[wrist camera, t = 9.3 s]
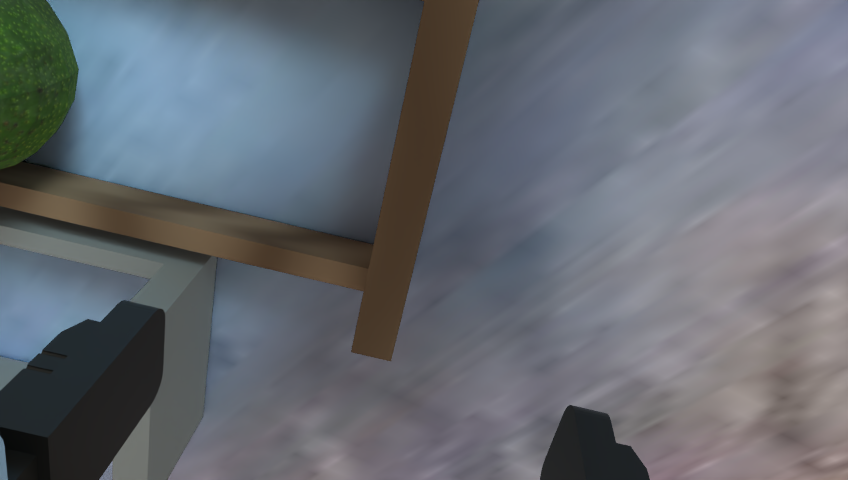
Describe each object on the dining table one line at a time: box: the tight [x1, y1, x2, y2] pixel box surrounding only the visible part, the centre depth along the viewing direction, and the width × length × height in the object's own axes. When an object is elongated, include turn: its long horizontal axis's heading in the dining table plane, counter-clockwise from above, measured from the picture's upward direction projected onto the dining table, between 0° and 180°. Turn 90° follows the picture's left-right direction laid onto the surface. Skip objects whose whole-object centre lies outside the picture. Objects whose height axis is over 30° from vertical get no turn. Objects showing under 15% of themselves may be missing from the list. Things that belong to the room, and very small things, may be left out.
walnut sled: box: [0, 0, 479, 361], centre depth 26 cm, size 24×14×7 cm, turn 77°
